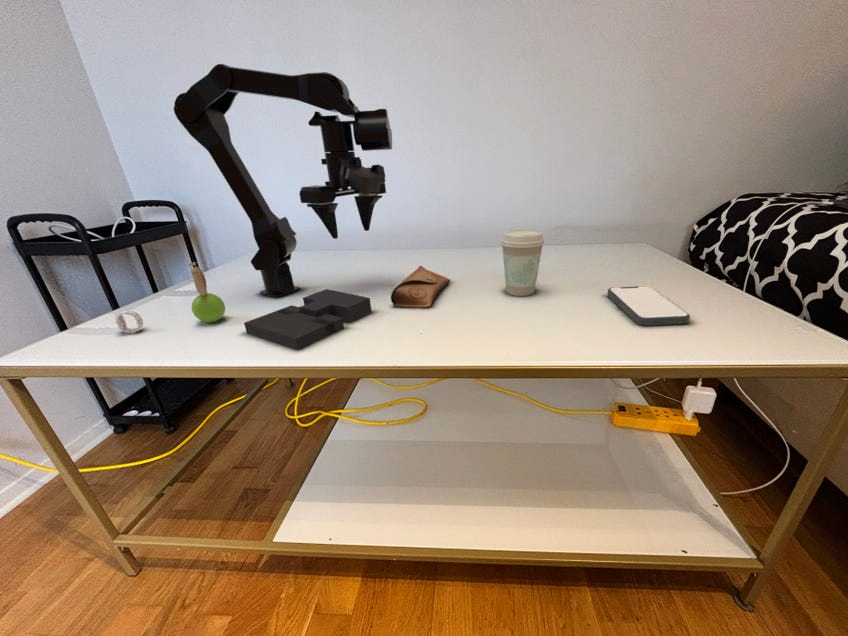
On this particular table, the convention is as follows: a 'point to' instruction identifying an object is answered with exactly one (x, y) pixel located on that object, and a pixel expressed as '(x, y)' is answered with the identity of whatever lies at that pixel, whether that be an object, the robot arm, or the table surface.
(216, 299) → the green ball with stick
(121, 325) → the beige textured ring
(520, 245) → the coffee cup
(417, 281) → the sunglasses case
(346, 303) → the pad
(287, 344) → the notched pad
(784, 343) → the table surface
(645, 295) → the phone case
